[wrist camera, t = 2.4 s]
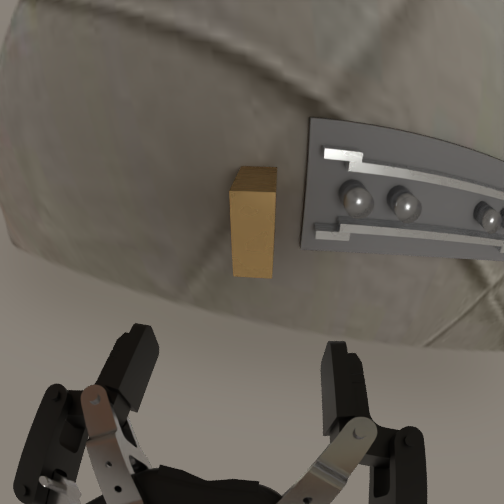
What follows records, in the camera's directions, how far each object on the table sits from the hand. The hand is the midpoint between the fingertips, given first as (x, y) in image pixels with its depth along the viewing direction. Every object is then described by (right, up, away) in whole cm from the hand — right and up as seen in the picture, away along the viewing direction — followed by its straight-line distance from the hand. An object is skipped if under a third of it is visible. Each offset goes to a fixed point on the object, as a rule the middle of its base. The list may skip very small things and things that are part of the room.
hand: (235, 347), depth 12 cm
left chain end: (+13, +9, +10) cm, 18 cm away
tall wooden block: (+1, +8, +13) cm, 15 cm away
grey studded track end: (+26, +8, +9) cm, 28 cm away
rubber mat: (+19, +9, +10) cm, 24 cm away
